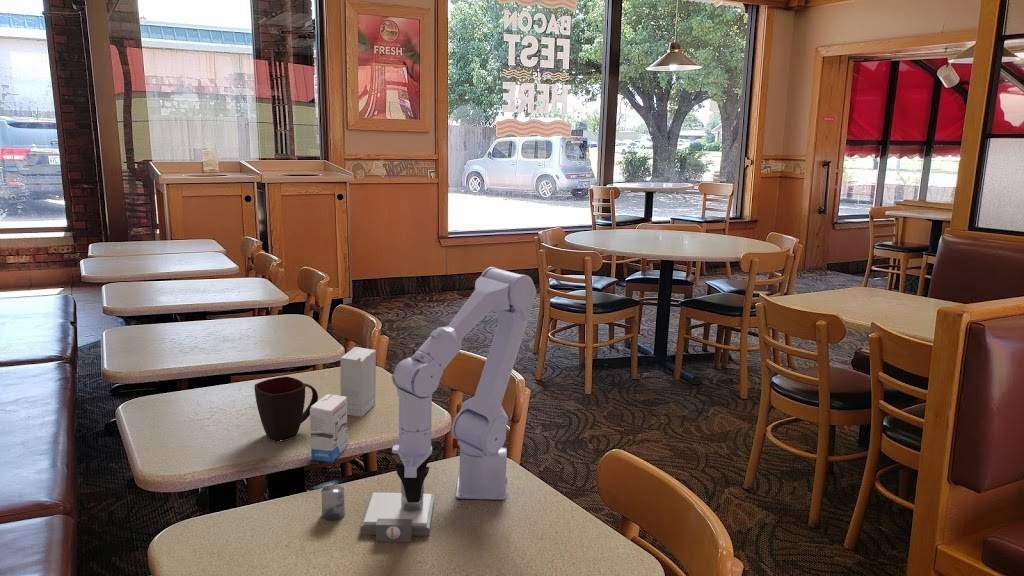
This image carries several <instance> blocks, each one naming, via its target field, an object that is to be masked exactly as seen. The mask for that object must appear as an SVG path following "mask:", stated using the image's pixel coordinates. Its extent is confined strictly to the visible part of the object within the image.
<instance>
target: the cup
mask: <svg viewBox="0 0 1024 576" xmlns="http://www.w3.org/2000/svg"><path fill="white" fill-rule="evenodd" d="M253 388H254V396H255V402H256V407H257V410H258V414H259V415H258V416H259V418H260V421H261V425H262V428H263V430H264V432H265V435H266V437H267V438H268V439H269V438H270V440H271V439H272V440H271V441H273V440H275V441H274V442H276V441H280V440H285V441H287V440H286V439H289V438H291V439H293V438H292V437H294V436H295V437H297V436H296V435H298V433H299V430H300V426H301V424H302V423H304V422H305V421H306V420H307V419H308V418H310V408H311V406H312V405H313V404H315V403H316V402H317V401H319V394H318V392H317V389H315V387H314V386H313V385H311V384H309V383H304V382H303V381H301V380H300V379H297V378H296V377H291V376H279V377H273V378H269V379H265V380H262V381H260V382H257V383H255V384H254V387H253ZM306 388H308V389H310V390H311V392H312V395H311V400H310V402H309V405H308V406H307V407H306V409H304V408H305V403H306V402H305V401H306ZM304 410H305V411H304ZM295 437H294V438H295ZM289 440H290V439H289ZM280 442H281V441H280Z"/></svg>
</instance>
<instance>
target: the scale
mask: <svg viewBox="0 0 1024 576" xmlns="http://www.w3.org/2000/svg"><path fill="white" fill-rule="evenodd" d="M434 507H435V495H433V494H432V493H424V495H423V507H422V508H421V509H419V510H416V511H407V510H404V509H403V508H402V507H401V492H377V491H376V492H372V493H370V495H369V499H368V502H367V504H366V508H365V511H364V515H363V517H362V520H361V524H360V535H369V536H370V535H375V542H393V543H411V542H412V537H413V536H414V537H415V536H416V537H419V536H420V537H421V536H422V537H430V533H431V528H432V521H433V520H432V519H433V513H434Z"/></svg>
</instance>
